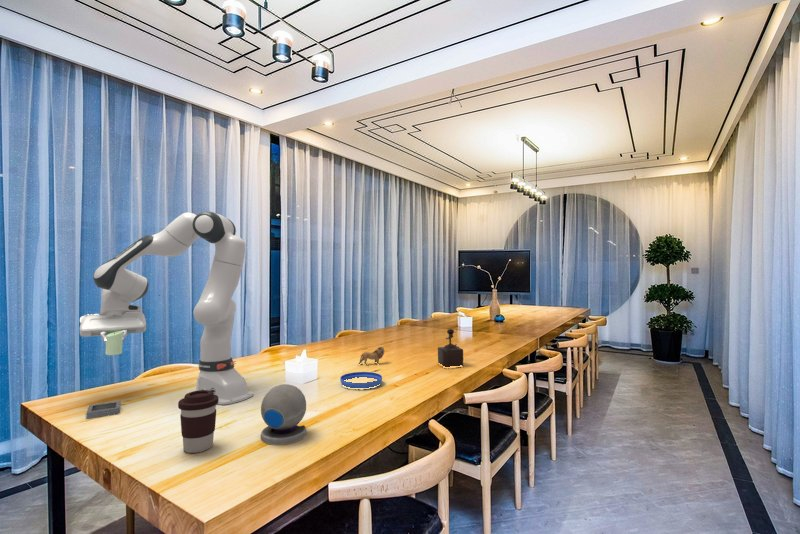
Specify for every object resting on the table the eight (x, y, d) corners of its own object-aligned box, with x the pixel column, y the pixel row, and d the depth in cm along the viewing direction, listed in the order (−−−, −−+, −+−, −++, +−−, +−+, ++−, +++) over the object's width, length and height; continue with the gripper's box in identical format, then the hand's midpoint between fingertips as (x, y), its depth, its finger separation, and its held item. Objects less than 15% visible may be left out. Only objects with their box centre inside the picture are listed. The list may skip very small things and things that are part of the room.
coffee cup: (187, 440, 114) (188, 388, 114) (223, 439, 115) (223, 387, 115) (170, 456, 104) (171, 399, 104) (210, 455, 105) (210, 398, 105)
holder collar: (89, 411, 138) (89, 405, 138) (120, 406, 143) (120, 400, 143) (86, 419, 131) (86, 413, 131) (119, 413, 136) (119, 407, 136)
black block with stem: (465, 367, 202) (465, 332, 202) (445, 369, 199) (445, 333, 199) (452, 361, 217) (452, 328, 217) (433, 362, 214) (433, 329, 214)
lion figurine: (382, 362, 214) (382, 345, 214) (386, 364, 209) (386, 347, 209) (356, 365, 208) (356, 347, 208) (359, 367, 203) (359, 349, 203)
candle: (109, 355, 141) (110, 332, 141) (102, 354, 144) (103, 331, 144) (124, 353, 145) (125, 331, 146) (118, 352, 148) (119, 330, 148)
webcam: (313, 429, 123) (313, 380, 123) (293, 447, 110) (293, 393, 110) (275, 425, 125) (275, 378, 126) (251, 442, 113) (251, 389, 113)
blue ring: (359, 377, 184) (359, 369, 184) (390, 383, 174) (390, 375, 174) (331, 386, 169) (331, 378, 169) (363, 394, 159) (363, 385, 159)
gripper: (79, 309, 145) (76, 339, 137) (145, 306, 156) (146, 334, 148) (80, 320, 148) (77, 350, 140) (145, 316, 160) (146, 344, 152)
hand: (113, 342), depth 144 cm, fingers closed on candle, 3 cm apart
